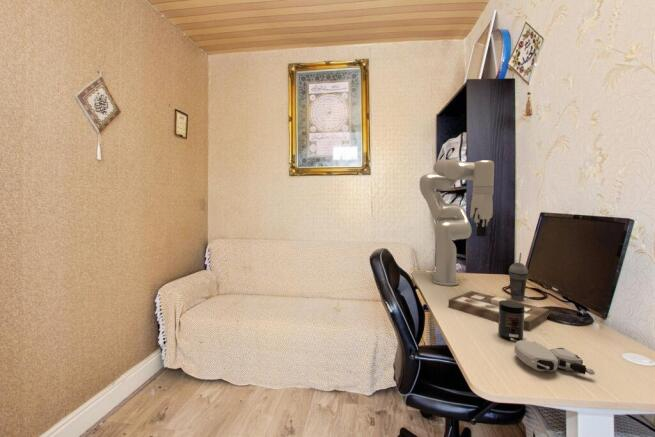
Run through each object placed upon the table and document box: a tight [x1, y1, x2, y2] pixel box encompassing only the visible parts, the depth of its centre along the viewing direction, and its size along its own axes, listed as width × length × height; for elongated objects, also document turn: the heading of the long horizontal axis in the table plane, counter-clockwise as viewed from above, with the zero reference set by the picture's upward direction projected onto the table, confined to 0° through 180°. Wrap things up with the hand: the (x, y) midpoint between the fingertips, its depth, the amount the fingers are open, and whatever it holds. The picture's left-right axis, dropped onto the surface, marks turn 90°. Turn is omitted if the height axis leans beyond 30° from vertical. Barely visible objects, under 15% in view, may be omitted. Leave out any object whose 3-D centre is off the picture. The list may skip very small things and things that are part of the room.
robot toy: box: [510, 338, 595, 376], centre depth 78 cm, size 12×4×15 cm
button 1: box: [470, 295, 485, 301], centre depth 122 cm, size 4×4×2 cm
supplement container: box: [497, 299, 525, 342], centre depth 94 cm, size 7×7×10 cm
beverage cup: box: [507, 252, 529, 302], centre depth 129 cm, size 7×7×20 cm
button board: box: [448, 290, 550, 332], centre depth 115 cm, size 28×18×3 cm, turn 38°
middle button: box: [491, 296, 508, 305], centre depth 116 cm, size 4×4×2 cm
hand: (481, 236), depth 126 cm, fingers closed
